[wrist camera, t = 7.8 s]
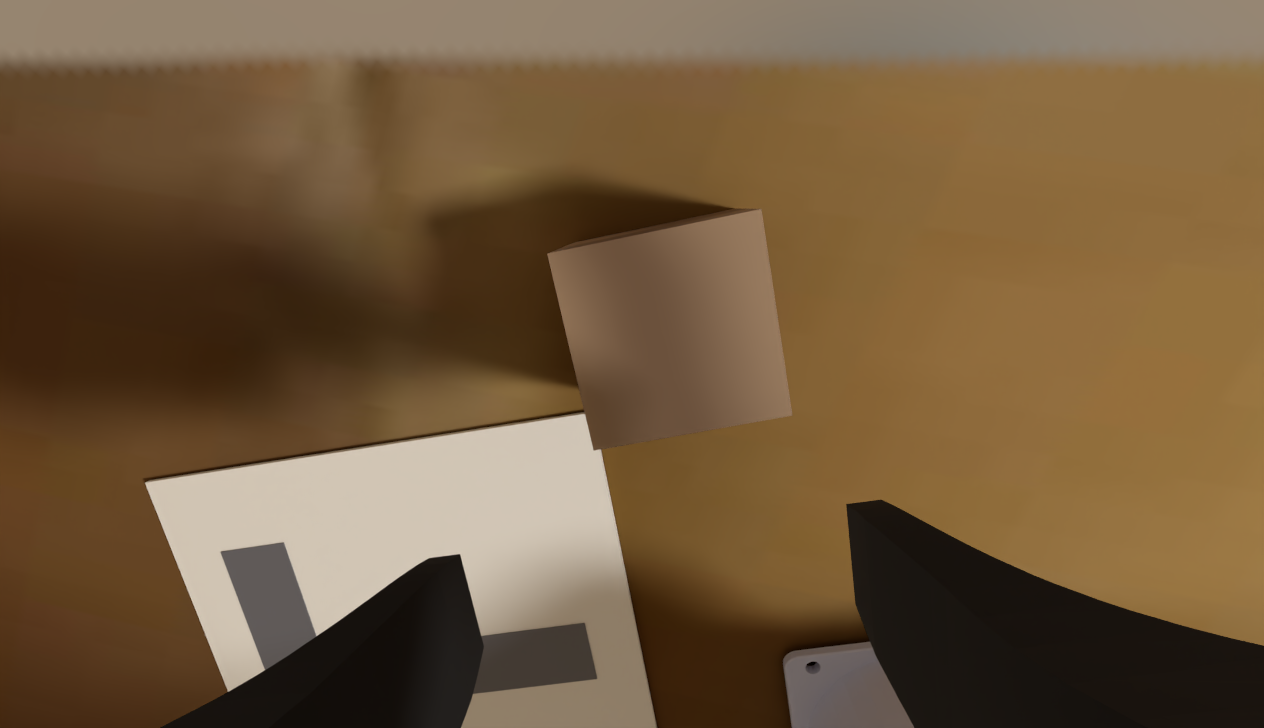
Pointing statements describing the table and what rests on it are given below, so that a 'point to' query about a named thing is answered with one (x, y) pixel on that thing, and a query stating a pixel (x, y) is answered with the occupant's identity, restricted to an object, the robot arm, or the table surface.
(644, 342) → the wooden cube
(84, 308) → the table surface
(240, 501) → the board
